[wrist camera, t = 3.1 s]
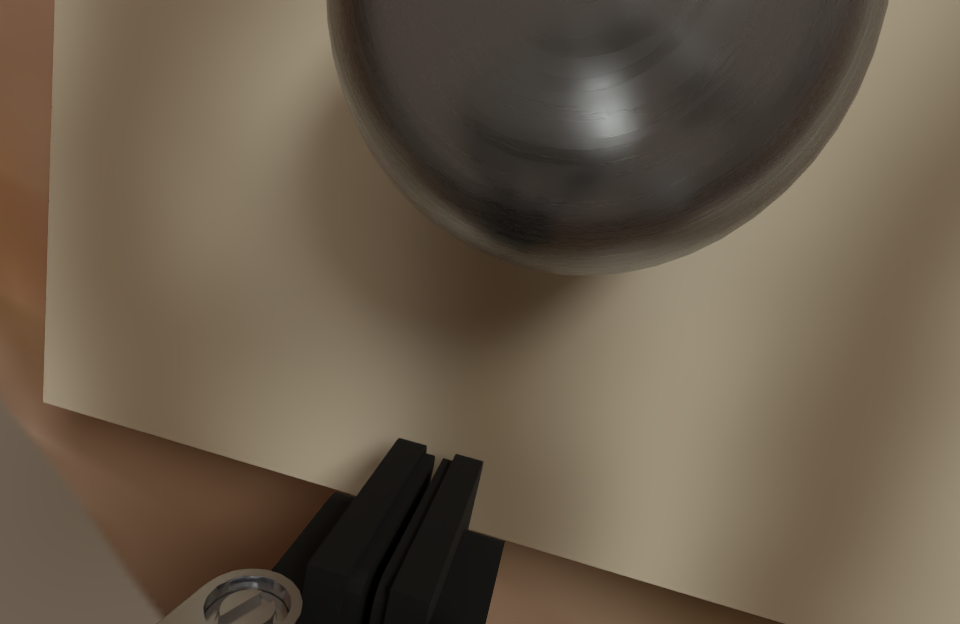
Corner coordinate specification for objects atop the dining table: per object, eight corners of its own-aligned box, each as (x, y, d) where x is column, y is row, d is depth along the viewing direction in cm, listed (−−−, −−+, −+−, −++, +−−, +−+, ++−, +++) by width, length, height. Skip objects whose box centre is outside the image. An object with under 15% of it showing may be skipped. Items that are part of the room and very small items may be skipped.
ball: (845, -113, 9) (1282, -613, 3) (719, 281, 11) (868, 415, 5) (450, -173, 10) (244, -665, 4) (387, 203, 11) (170, 237, 6)
